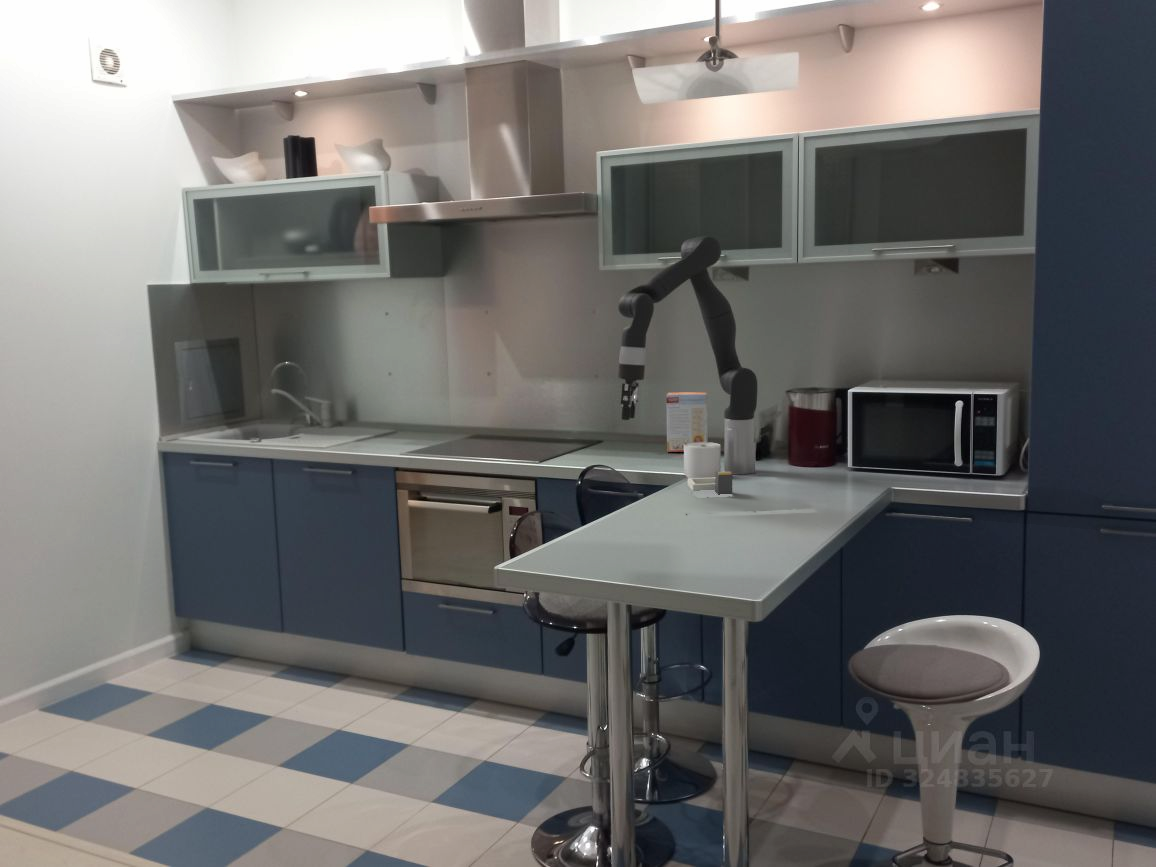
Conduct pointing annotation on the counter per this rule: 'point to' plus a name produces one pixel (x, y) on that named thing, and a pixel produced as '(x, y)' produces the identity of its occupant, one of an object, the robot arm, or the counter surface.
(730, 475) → the plug
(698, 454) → the toilet tissue
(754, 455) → the robot arm
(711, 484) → the cream rectangular tray
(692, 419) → the cracker box
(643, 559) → the counter surface
